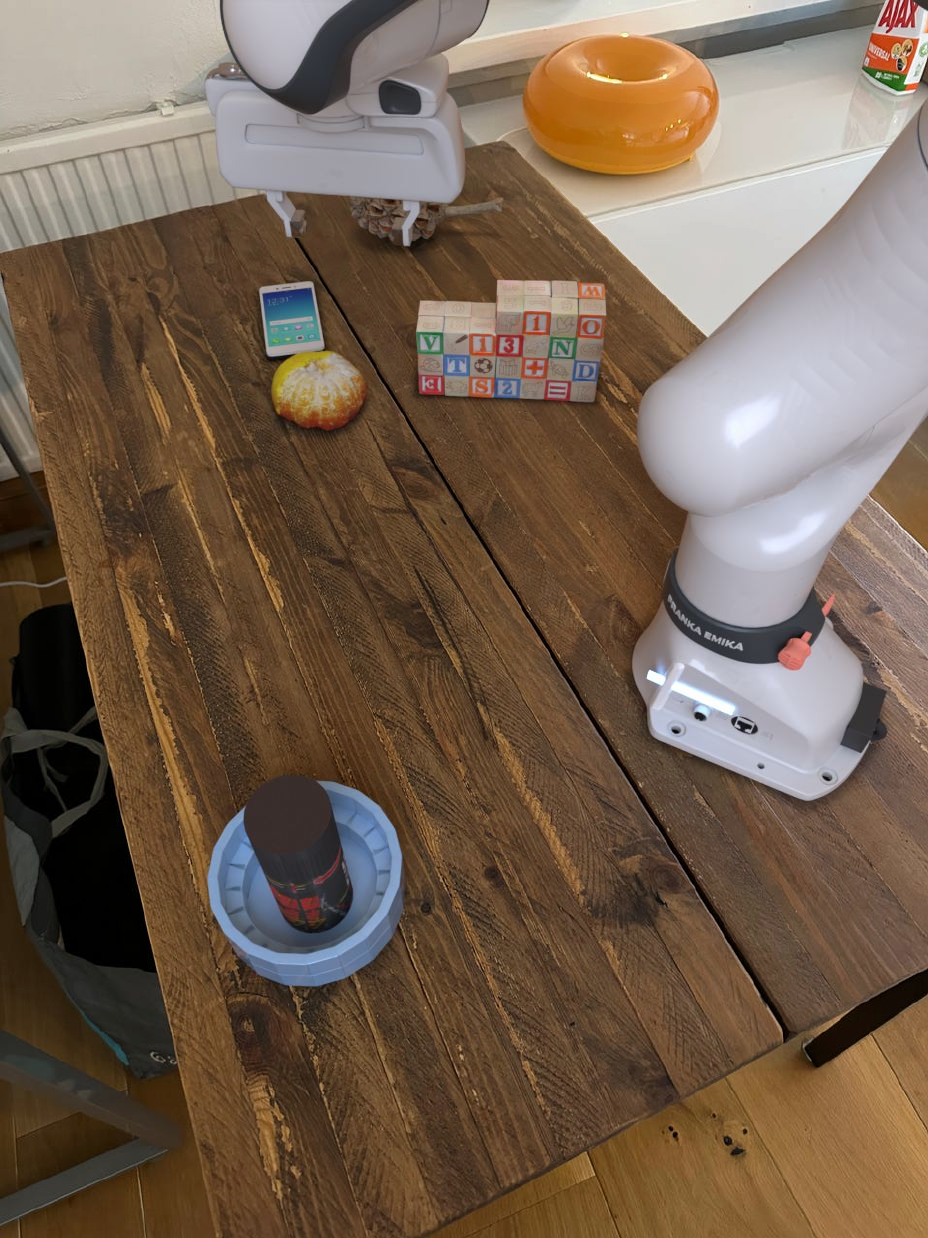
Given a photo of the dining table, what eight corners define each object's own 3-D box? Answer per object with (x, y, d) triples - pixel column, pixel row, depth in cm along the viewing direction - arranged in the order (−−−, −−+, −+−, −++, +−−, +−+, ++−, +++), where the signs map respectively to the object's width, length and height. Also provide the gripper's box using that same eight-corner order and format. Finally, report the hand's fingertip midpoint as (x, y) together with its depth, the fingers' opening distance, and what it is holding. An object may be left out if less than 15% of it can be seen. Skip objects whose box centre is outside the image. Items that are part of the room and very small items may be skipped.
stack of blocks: (418, 396, 114) (413, 307, 105) (422, 364, 118) (418, 275, 109) (595, 402, 114) (607, 313, 104) (594, 369, 117) (605, 281, 108)
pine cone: (352, 258, 133) (345, 189, 125) (352, 221, 139) (345, 153, 131) (509, 250, 134) (511, 182, 126) (502, 214, 139) (504, 147, 132)
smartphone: (266, 355, 118) (257, 286, 127) (267, 361, 119) (259, 292, 128) (325, 348, 119) (313, 280, 128) (326, 353, 120) (314, 285, 128)
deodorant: (269, 880, 77) (232, 794, 65) (337, 850, 78) (314, 761, 66) (293, 946, 73) (258, 869, 62) (364, 914, 75) (344, 832, 63)
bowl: (442, 882, 77) (440, 851, 73) (318, 1030, 70) (307, 1007, 66) (312, 782, 83) (303, 748, 78) (186, 911, 76) (167, 882, 71)
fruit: (283, 447, 108) (267, 381, 104) (275, 412, 117) (259, 350, 112) (378, 427, 110) (367, 361, 105) (363, 394, 118) (352, 331, 114)
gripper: (186, 78, 71) (224, 248, 82) (456, 95, 69) (458, 267, 80) (211, 43, 75) (245, 210, 86) (468, 58, 73) (468, 227, 84)
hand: (349, 238), depth 83 cm, fingers open, 8 cm apart
